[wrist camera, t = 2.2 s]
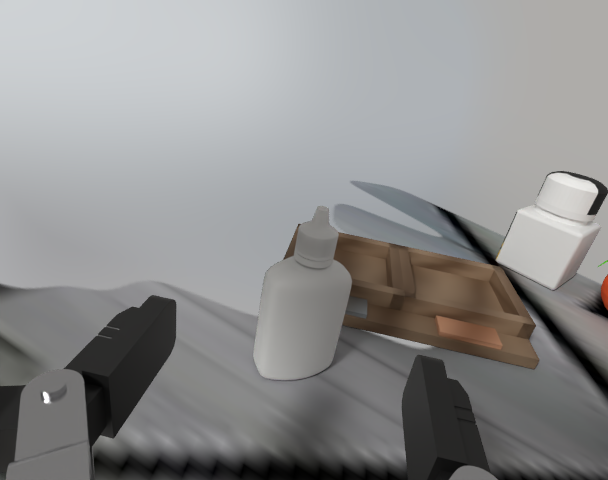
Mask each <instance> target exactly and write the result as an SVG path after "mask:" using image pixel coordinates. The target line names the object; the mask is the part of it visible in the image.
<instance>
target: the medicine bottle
mask: <svg viewBox="0 0 608 480" xmlns="http://www.w3.org/2000/svg"><path fill="white" fill-rule="evenodd" d="M607 194H608V190H607V188H606V187H605V186H604V185H603V184H602V183H600V182H599V181H597V180H595V179H592V178H589V177H586V176H583V175H580V174H576V173H571V172H564V171H557V172H552V173H550V174H548V175H547V177H546V179H545V181H544V183H543V185H542V188H541V190H540V192H539V194H538V196H537V199H536V201H535V203H536V204H535V205H532V206H529V207H526V208H523V209H520V210H518V211H517V212H516V214H515V217H514V219H513V221H512V224H511V226H510V228H509V230H508V233H507V235H506V237H505V239H504V242H503V244H502V246H501V248H500V251H499V253H498V255H497V258H496V262H497V263H499V264H501V265H503V266H505V267H507V268H509V269H511V270H513V271H515V272H517V273H519V274H521V275H523V276H525V277H527V278H529V279H531V280H533V281H535V282H537V283H539V284H541V285H543V286H545V287H547V288H549V289H551V290H555V289H556V288H558V287H559V286H561V285H562V284H563V283H565V282H566V281H568V280H569V279H570V278H572V277H573V276H574V275H575V274H576V272H577V270H578V268H579V267H580V265H581V263H582V261H583V259H584V258H585V256H586V254H587V252H588V250H589V248H590V247H591V245H592V243H593V241H594V240H595V238H596V236H597V234H598V232H599V230H600V229H601V225H600V224H598V223H595V222H592V221H593V219H594V217H595V216H596V214H597V212H598V210H599V209H600V207H601V205H602V203H603V201H604V199H605V197H606V196H607Z"/></svg>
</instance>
